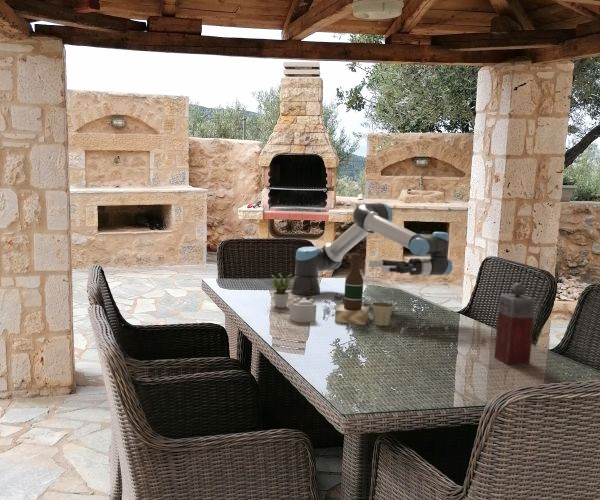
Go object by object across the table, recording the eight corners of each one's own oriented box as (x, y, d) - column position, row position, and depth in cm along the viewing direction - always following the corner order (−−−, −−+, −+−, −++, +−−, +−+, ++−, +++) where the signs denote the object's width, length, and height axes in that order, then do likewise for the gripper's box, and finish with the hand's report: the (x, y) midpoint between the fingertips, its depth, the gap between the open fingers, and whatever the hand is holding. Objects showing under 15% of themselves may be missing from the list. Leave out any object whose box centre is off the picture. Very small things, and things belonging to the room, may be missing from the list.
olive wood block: (334, 321, 283) (335, 310, 283) (339, 315, 296) (339, 304, 295) (365, 324, 281) (366, 313, 280) (368, 318, 293) (369, 307, 293)
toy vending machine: (512, 355, 245) (519, 280, 241) (529, 364, 234) (537, 285, 230) (490, 355, 243) (497, 279, 239) (506, 364, 232) (513, 285, 228)
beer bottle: (362, 311, 284) (365, 255, 281) (344, 310, 284) (347, 254, 281) (361, 307, 292) (364, 252, 288) (343, 306, 292) (346, 252, 289)
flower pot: (391, 328, 277) (393, 307, 276) (369, 325, 279) (370, 305, 278) (393, 322, 287) (394, 303, 285) (371, 320, 288) (372, 301, 287)
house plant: (300, 304, 316) (301, 270, 314) (297, 310, 302) (298, 274, 300) (270, 302, 317) (271, 268, 315) (266, 308, 303) (267, 272, 301)
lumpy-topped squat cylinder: (294, 322, 279) (295, 302, 278) (286, 315, 291) (287, 296, 290) (318, 322, 282) (319, 302, 281) (308, 315, 294) (309, 295, 293)
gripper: (431, 280, 286) (386, 280, 280) (405, 269, 310) (363, 269, 303) (433, 263, 285) (388, 262, 279) (406, 253, 309) (364, 253, 302)
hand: (375, 266), depth 291 cm, fingers open, 13 cm apart
